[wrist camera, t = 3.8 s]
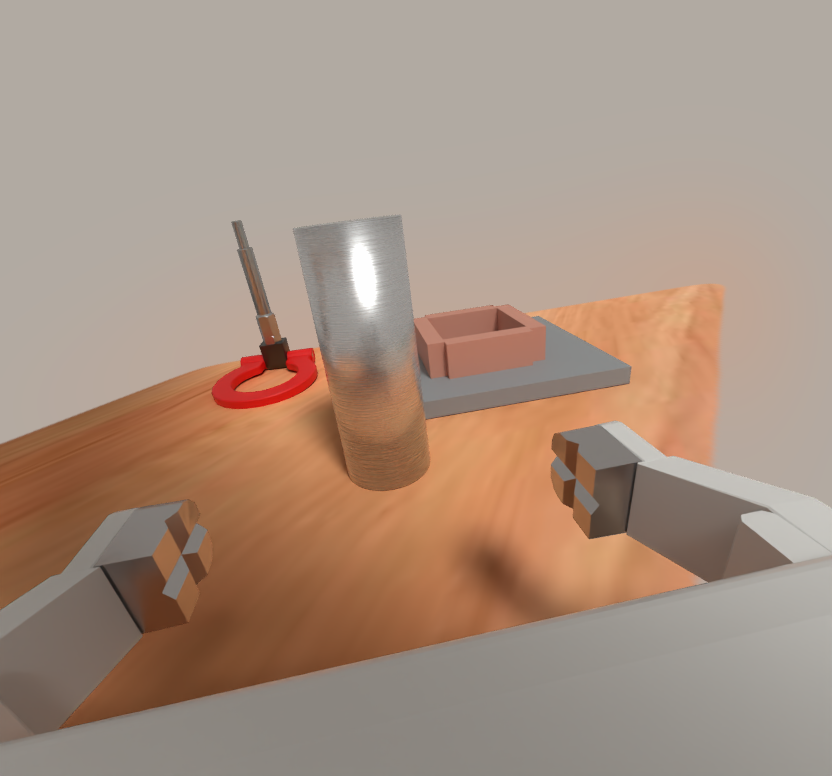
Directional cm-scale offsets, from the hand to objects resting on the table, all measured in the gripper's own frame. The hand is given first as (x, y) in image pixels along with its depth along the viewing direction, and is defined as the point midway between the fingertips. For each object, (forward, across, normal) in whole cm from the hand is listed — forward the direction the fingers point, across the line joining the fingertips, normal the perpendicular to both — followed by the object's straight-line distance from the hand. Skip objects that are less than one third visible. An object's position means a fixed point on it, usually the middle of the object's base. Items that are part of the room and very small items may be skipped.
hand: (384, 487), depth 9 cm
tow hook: (+25, +9, +7) cm, 28 cm away
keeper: (+21, -8, +6) cm, 24 cm away
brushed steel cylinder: (+10, 0, +7) cm, 12 cm away
